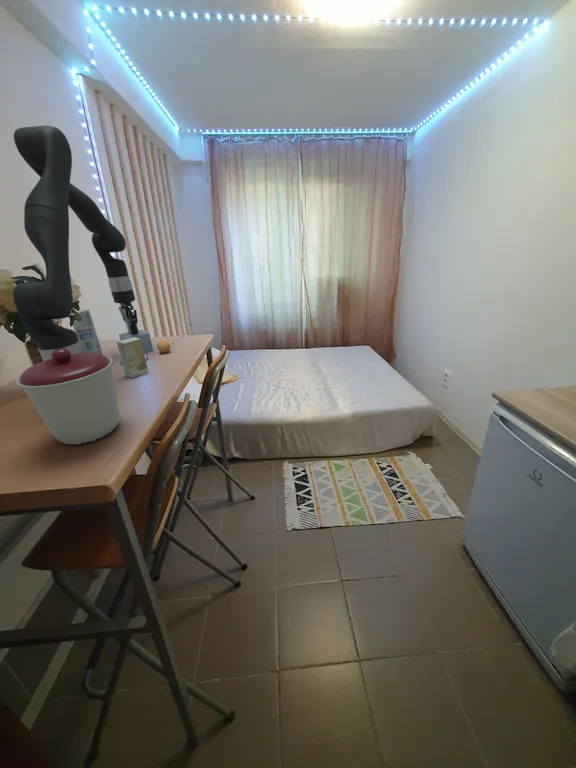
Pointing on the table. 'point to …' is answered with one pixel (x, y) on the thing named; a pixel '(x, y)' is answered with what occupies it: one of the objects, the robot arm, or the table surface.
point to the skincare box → (132, 357)
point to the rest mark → (145, 359)
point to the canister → (73, 395)
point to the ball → (163, 346)
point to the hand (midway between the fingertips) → (133, 332)
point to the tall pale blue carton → (87, 333)
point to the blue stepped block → (141, 335)
